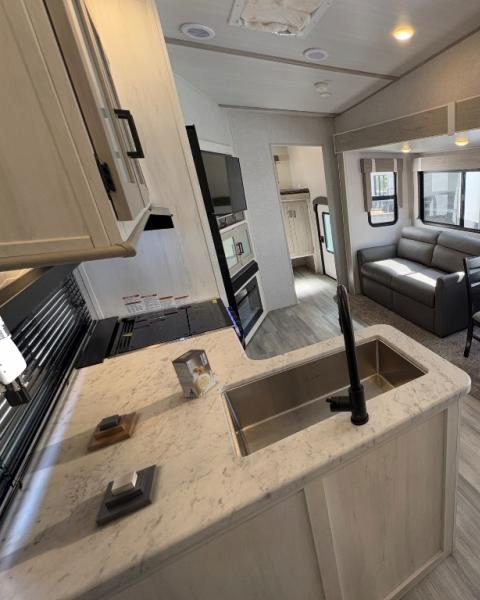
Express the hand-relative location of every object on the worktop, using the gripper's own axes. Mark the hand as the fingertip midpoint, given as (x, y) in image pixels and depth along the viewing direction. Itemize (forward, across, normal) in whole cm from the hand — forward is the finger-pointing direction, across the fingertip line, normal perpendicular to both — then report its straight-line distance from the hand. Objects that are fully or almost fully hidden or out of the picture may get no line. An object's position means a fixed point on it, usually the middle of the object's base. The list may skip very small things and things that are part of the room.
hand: (22, 403), depth 76 cm
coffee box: (+25, -24, +32) cm, 47 cm away
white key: (+21, +18, +17) cm, 33 cm away
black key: (+22, -14, +8) cm, 27 cm away
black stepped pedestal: (+25, +18, +17) cm, 35 cm away
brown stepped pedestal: (+25, -14, +8) cm, 30 cm away
